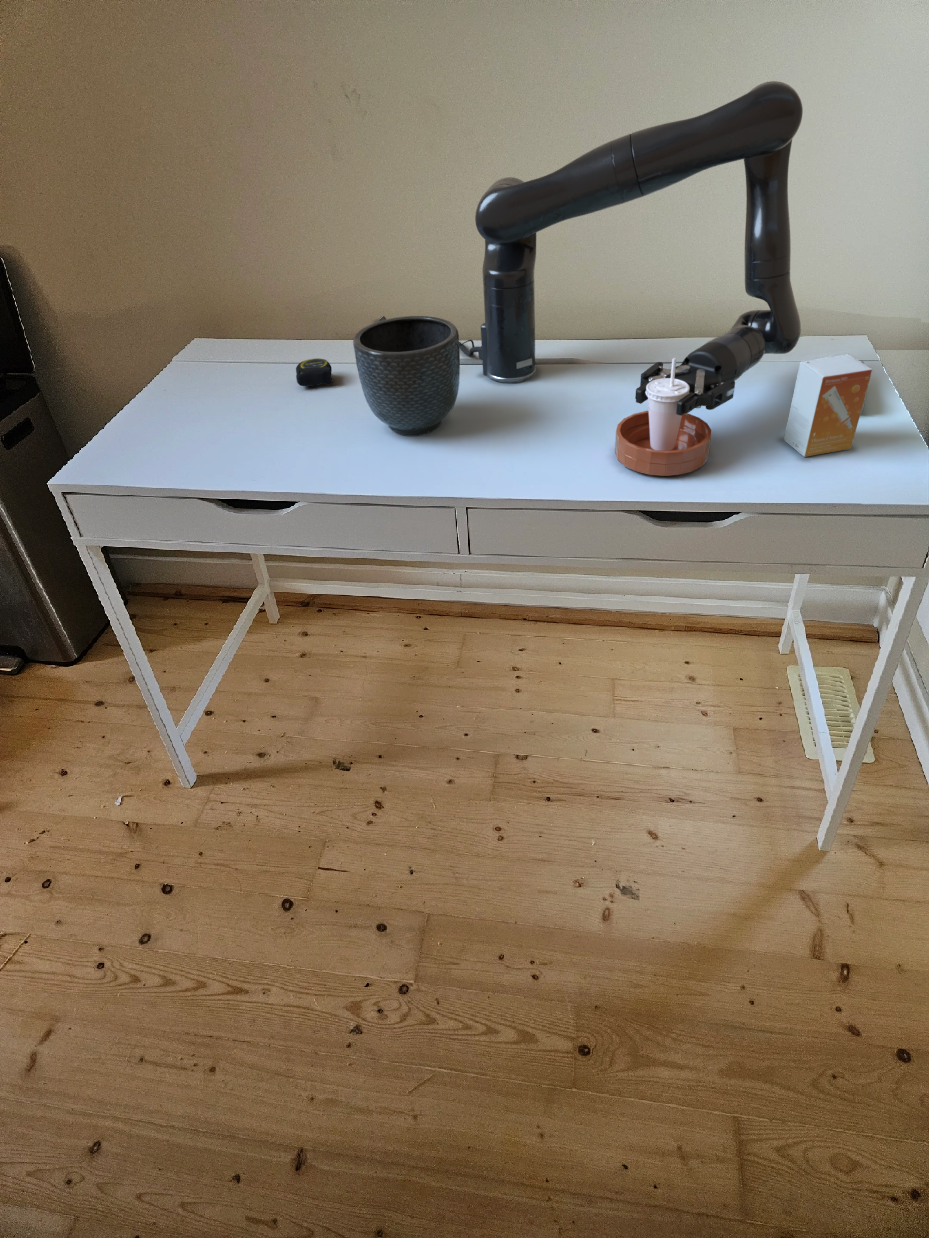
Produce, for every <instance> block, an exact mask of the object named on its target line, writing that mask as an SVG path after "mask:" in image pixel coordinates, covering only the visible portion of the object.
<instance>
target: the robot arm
mask: <svg viewBox="0 0 929 1238" xmlns="http://www.w3.org/2000/svg"><path fill="white" fill-rule="evenodd" d="M803 109H804V108H803V103H802V99H801V97H800V96H799V94H798V92H797V91H796V89H794V88H793V86H791V85H790V84H788V83H786V82H783V81H777V80H771V81H765V82H762V83H760V84H758V85H756V86H755V87H753V88H752V89H751V90H750V91H748V92H747V93H744V94H743V95H741V96H739V97H737V98H735V99H733V100H731V101H729V102H727V103H725V104H722V105H721V106H718V107H716V108H714V109H711V110H710V111H707V112H705V113H702V114H699V115H697V116H694V117H690V118H684V119H681V120H675V121H670V122H666V123H660V124H657V125H653V126H650V127H646V128H643V129H639V130H636V131H634V132H631V133H628V134H625V135H623V136H620V137H618V138H614V139H612V140H610V141H607V142H605V143H603V144H601V145H598V146H597V147H595V148H593V149H591V150H589V151H587V152H585V153H584V154H582V155H580V156H578V157H576V158H575V159H573V160H572V161H570V162H568V163H567V164H565V165H563V166H562V167H560V168H558V169H557V170H555V171H552V172H550V173H548V174H546V175H543V176H541V177H536V178H534V179H531V180H526V181H523V180H522V179H521V178H518V177H515V176H514V177H513V176H508V177H503V178H500V179H498V180H496V181H495V182H494V183H492V184H491V185H490V186H489V187H488V189H486V191H485V192H484V193H483V194H482V196H481V198H480V199H479V201H478V204H477V206H476V209H475V217H474V221H475V226H476V230H477V232H478V233H479V235H480V237H482V239H484V257H483V264H482V268H481V269H482V272H481V273H482V286H483V287H482V289H483V305H484V306H483V308H484V309H483V310H484V311H483V312H484V322H483V323H482V324H481V325H480V341H481V343H480V344H481V345H480V346H474V347H473V348H472V347H470V349H467V348H466V346H465V345H464V344H462V342H460V341H459V345H460V344H462V345H461V346H459V350H460V351H461V352H462V353H463V354H464V355H466V357H473V356H474V354H475V353H478V360H481V361H482V362H481V363H482V375H484V376H487V377H488V378H489V379H490V380H493V381H496V382H500V383H517V382H523V381H527V380H529V379H532V378H533V377H534V376H535V375H536V373H537V366H536V297H535V296H536V295H535V292H536V290H535V288H536V287H535V285H536V284H535V271H536V270H535V269H536V261H537V233H538V232H541V231H543V230H545V229H547V228H550V227H552V226H554V225H556V224H558V223H561V222H564V221H567V220H570V219H571V220H572V219H574V218H578V217H582V216H586V215H589V214H593V213H597V212H599V211H603V210H607V209H610V208H613V207H617V206H620V205H623V204H626V203H629V202H632V201H635V200H639V199H640V198H641V199H642V198H644V197H646V196H650V195H651V194H653V193H656V192H659V191H661V190H664V189H666V188H669V187H671V186H673V185H675V184H678V183H680V182H682V181H684V180H686V179H688V178H691V177H692V176H694V175H696V174H699V173H701V172H703V171H706V170H708V169H711V168H714V167H718V166H721V165H725V164H730V163H732V162H733V163H734V162H737V161H742V160H743V164H744V165H743V166H744V174H745V189H746V190H745V194H746V198H745V199H746V202H745V205H746V207H745V210H746V211H745V229H744V290H745V293H746V294H747V295H748V296H749V297H752V298H755V299H759V300H761V301H764V302H765V303H766V304H767V306H768V307H769V309H754V310H749V311H745V312H744V313H741V314H740V315H739V316H738V317H737V319H736V321H734V323H733V325H732V326H731V328H730V329H729V330H728V331H727V332H724V334H722V335H720V336H716V337H714V338H712V339H711V340H709V341H707V342H705V343H704V344H703V345H701V346H700V347H698V348H696V349H695V350H693V351H691V352H690V353H689V354H687V355H686V357H685V358H683V361H682V362H681V363H680V364H679V365H676V367H675V378H674V379H678V380H682V381H684V382H686V383H687V384H688V385H689V387H690V389H689V394H688V395H686V396H685V397H683V398H682V399H680V400H679V401H678V403H677V410H676V414H677V415H680V416H682V415H683V414H686V413H688V414H690V412H692V411H693V410H695V409H700V408H702V407H705V409H706V410H708V411H712V410H715V409H716V408H718V407H720V406H722V405H724V404H725V403H727V402H729V401H730V400H732V399H733V398H734V396H735V395H734V394H735V388H736V381H737V380H739V378H740V377H741V376H743V374H744V373H746V372H747V371H748V370H750V369H752V368H753V367H754V366H756V365H757V364H758V363H760V361H761V360H762V359H763V357H764V355H765V354H767V355H785V354H788V353H790V352H791V351H793V350H794V349H795V347H796V346H797V344H798V343H799V340H800V338H801V334H802V333H801V331H802V322H801V318H800V317H801V316H800V314H799V310H798V306H797V303H796V300H795V295H794V290H793V287H792V282H791V257H792V255H791V253H792V252H791V251H792V249H791V248H792V247H791V221H790V210H789V209H790V208H789V165H790V156H791V149H792V144H793V139H794V137H795V136H796V134H797V133H798V131H799V129H800V126H801V123H802V119H803V113H804V110H803ZM382 316H383V317H382ZM382 316H381V317H382V318H381V317H380V318H381V319H380V318H379V320H378V322H379V321H382V320H386V319H387V318H386V316H384V315H382ZM671 369H672V367H671V368H667V367H664V362H662V361H657V362H654V364H653V365H651V366H650V367H648V368H646V370H644V371H643V372H642V373H641V374H640V382H639V386H638V387H637V388H636V389H635V398H634V399H635V403H637V404H640V405H641V404H643V403H644V402H646V401H648V397H647V395H646V393H645V392H646V386H647V384H648V383H650V382H651V381H653V380H657V379H663V378H671Z"/></svg>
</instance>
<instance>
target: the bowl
mask: <svg viewBox="0 0 929 1238" xmlns="http://www.w3.org/2000/svg"><path fill="white" fill-rule="evenodd" d="M711 440H712V428H711V427H710V425H709V424H708V422H706V421H705V420H703V419H702V418H700V417H698V416H696V415H694V414H690V413H686V414H683V415H682V418H681V422H680V426H679V430H678V435H677V439H676V443H675V447H674V448H673V449H672V450H669V451H661V450H654V449H652V448H651V446H650V428H649V410H644V411H639V412H635V413H633V414H630V415H628V416H626V417H624V418H623V419H622V420H621V421H619V422H618V424H617V425H616V430H615V443H614V455H615V458H616V460H617V461H618V462H619V463H620V464H621V465H623V467H625V468H627V469H629V470H632V471H634V472H637V473H641V474H645V475H649V476H662V477H664V476H679V475H683V474H688V473H691V472H694V471H696V470H698V469H699V468H702V467H703V466H704V465H705V463H706V462H707V461H708V460H709V455H710V454H709V453H710V447H711Z"/></svg>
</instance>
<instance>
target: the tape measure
mask: <svg viewBox="0 0 929 1238" xmlns="http://www.w3.org/2000/svg"><path fill="white" fill-rule="evenodd" d="M332 371H333V370H332V365H331V363H330V362H329V360H326V359H325V358H308V359H305V360H302V361H301V362H299V363H297V365H296V366H295V374H296V375H295V379H296V383H297V385H298V386H300V387H311V386H312V387H317V386H320V385H326V384H331V383H333V375H332V373H333V372H332Z"/></svg>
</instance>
